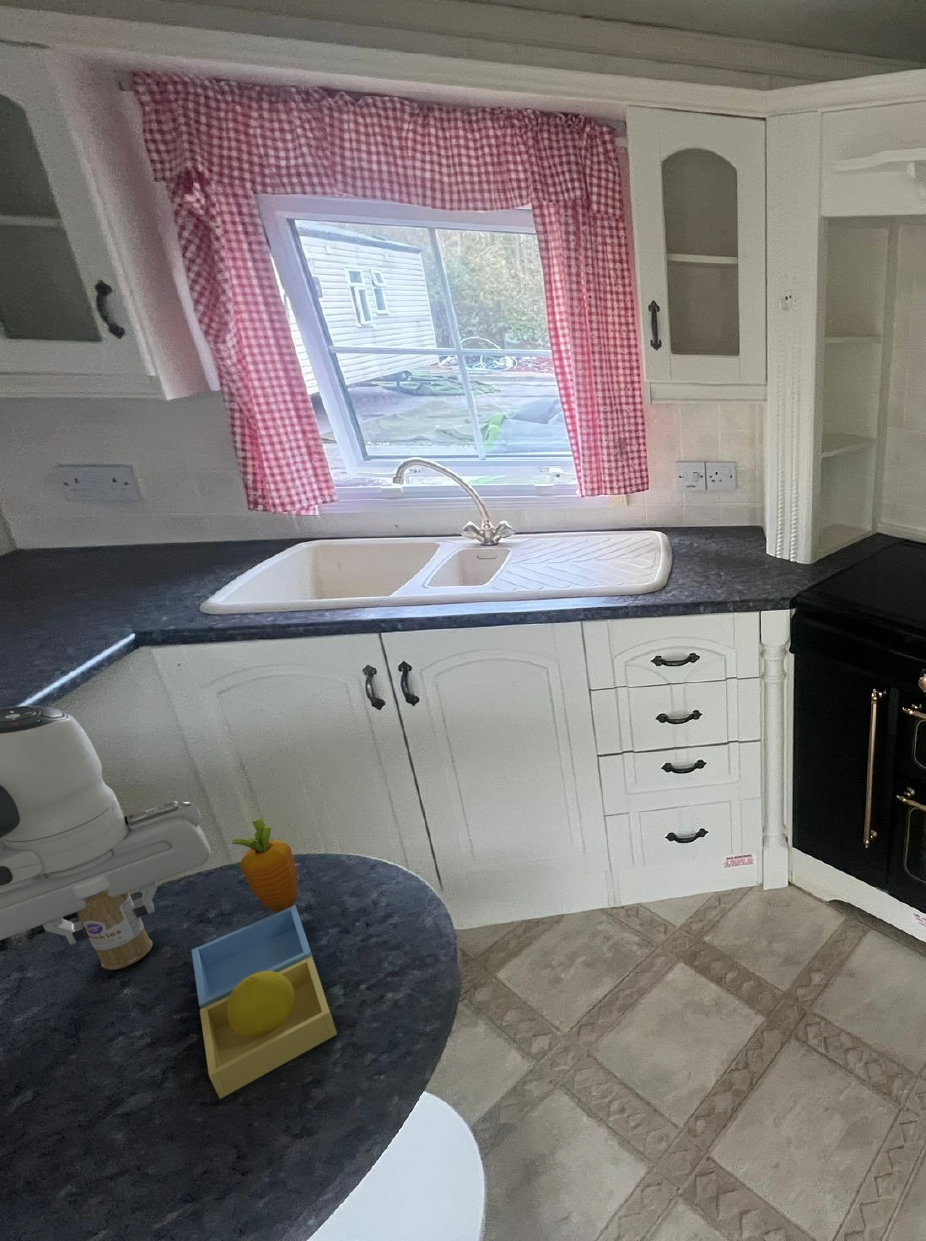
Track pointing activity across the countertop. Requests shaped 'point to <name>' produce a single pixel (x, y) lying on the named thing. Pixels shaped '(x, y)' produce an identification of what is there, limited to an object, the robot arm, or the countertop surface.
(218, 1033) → the yellow bin
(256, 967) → the blue bin
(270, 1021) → the lemon
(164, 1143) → the countertop surface
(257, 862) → the carrot
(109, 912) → the sprinkles bottle
